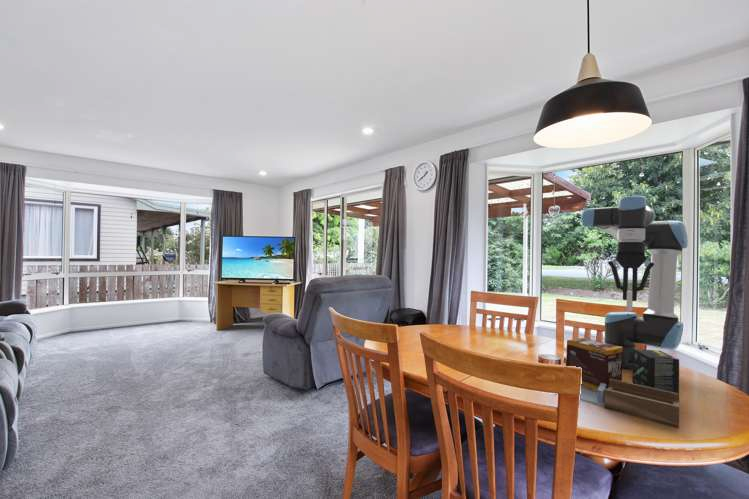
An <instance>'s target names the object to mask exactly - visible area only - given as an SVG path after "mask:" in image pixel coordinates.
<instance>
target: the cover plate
mask: <svg viewBox="0 0 749 499" xmlns="http://www.w3.org/2000/svg"><path fill="white" fill-rule="evenodd" d="M605 388H606V384H604V383H601V384H600V386H599V388H598V390H596V391H592V390H587V389H585V388H580V389H581V394H580V400H579V401H582V402H587V403H589V404H593V405H597V406H602V407H604V393H605Z"/></svg>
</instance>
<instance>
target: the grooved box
mask: <svg viewBox="0 0 749 499" xmlns="http://www.w3.org/2000/svg"><path fill="white" fill-rule="evenodd" d="M603 409H606V410H610V411H613V412H614V411H615V412H617V413H621V414H624V415H629V416H632V417H636V418H640V419H644V420H648V421H651V422H655V423H659V424H663V425H666V426H668V427H669V426H670V427H672V428H673V427H674V428H678V429H679V428H680V405H679V402H678V393H675V392H670V391H666V390H661V389H656V388H652V387H647V386H643V385H638V384H633V383H632V382H627V381H623V380H622V381H620V380H615V379H609V387H608V389H606V388H605V393H604V406H603Z"/></svg>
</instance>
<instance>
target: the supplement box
mask: <svg viewBox="0 0 749 499" xmlns="http://www.w3.org/2000/svg"><path fill="white" fill-rule="evenodd" d="M565 358H566V359H565V360H566V362H565V367H566V366H576V367H581V368H582V385H581V386H583V387H587V388H589V389H592V390H594V391H597V390H598V388H599V386H600V384H601V383H604V384H606V389H608V387H609V379H615V380H620V381H623V368H622V358H623V347H621V346H616V345H612V344H608V343H605V341H598V340H595V339H591V338H586V337H578V338H571V339H567V340H566V357H565Z"/></svg>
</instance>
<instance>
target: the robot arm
mask: <svg viewBox="0 0 749 499" xmlns="http://www.w3.org/2000/svg"><path fill="white" fill-rule="evenodd" d="M655 218H656V214H655V211H654V210H653V209H652V207H650V206H648V205H647V199H646V197H645V196H644V195H628V196H627V195H626V196H622V197H620V198H619V200H618V205H617V206H607V207H591V208H585V209H584V210H583V211H582V212H581V223H582V226H583V227H584V228H592V229H593V228H596V229H598V230H600V231H603V232H604V233H606V234H608V235H610V236H611V238H612V239H613V240H614V241H616V242H617V254H616V256H615V258H614V259H612V260H610V261H608V262H607V264H608V265H609V266H610V268H611V271H612V274H613V278H614V282H615V286H616V289H619V290H621V291H622V300H623V301H626V311H611V312H610V311H609V312H607V313H606V314H605V316H604V317H605V318H604V323H603V324H604V343H608V344H612V345H616V346H621V347H623V358H622V369H629V370H631V369H632V370H633V349H637V344H639V345H644V346H650V347H656V348H660V349H667V350H675V349H677V348H679V346H680V343H681V340H682V337H683V332H684V323H683V322H681V321H679V316H678V315H676V314H675V300H676V298H675V297H676V283H677V282H676V281H677V262H678V256H679V255H681V254H682V253H683V249H687V248H688V246H689V245H688V243H689V242H688V235H687V234H688V233H687V230H686V226H685V224H684V222H683V221H680V220H656V221H655ZM646 252H647V253H649V255H650V260H649V259H647V257H646V255H645V254H646ZM644 263H645V264H644ZM618 264H619V266H620V267H622V268H623V269H622V271H623V273H622V283H621V279H620V276H619V273H618V268H617V266H618ZM643 264H644V266H645V269H644V272H643V275H642V279H641V281H640V284H639V286H638V273H639V272H638V271H639V270H638V269H639V268H640V267H642V265H643ZM629 269H632V278H631V279H632V280H631V281H632V282H631V286H632V288H631V290H629ZM648 278H649V280H648ZM647 280H648V282H649V284H648V285H649V286H648V297H647V298H648V300H647V309H646V310H645V311H644V312H643V313H642V316H638V314H637V312H635V311H634V312H633V304H634V302H637V300H638V299H637V298H638V291H640V292H641V291H644V289H645V287H646V286H645V285H646V284H647ZM633 301H634V302H633Z"/></svg>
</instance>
